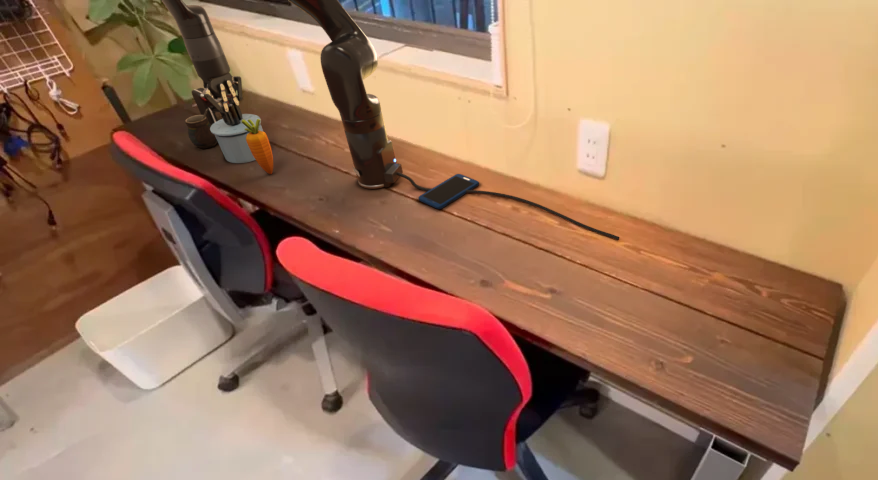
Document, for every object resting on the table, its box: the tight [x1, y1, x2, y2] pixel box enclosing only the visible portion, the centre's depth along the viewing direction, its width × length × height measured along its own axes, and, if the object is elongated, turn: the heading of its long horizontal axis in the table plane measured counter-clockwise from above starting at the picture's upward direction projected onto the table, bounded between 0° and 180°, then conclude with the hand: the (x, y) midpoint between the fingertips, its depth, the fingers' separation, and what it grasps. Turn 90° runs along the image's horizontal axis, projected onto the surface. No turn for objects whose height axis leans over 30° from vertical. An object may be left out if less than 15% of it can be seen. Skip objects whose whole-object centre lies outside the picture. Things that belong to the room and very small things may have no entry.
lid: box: [210, 103, 262, 136], centre depth 136 cm, size 13×13×6 cm
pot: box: [215, 123, 265, 164], centre depth 140 cm, size 12×12×7 cm
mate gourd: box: [184, 108, 218, 150], centre depth 145 cm, size 7×8×10 cm
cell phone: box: [418, 173, 480, 210], centre depth 122 cm, size 7×14×1 cm, turn 140°
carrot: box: [242, 118, 274, 175], centre depth 128 cm, size 5×5×15 cm
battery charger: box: [191, 87, 219, 125], centre depth 153 cm, size 7×4×11 cm, turn 50°
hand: (234, 121), depth 137 cm, fingers closed on lid, 2 cm apart
